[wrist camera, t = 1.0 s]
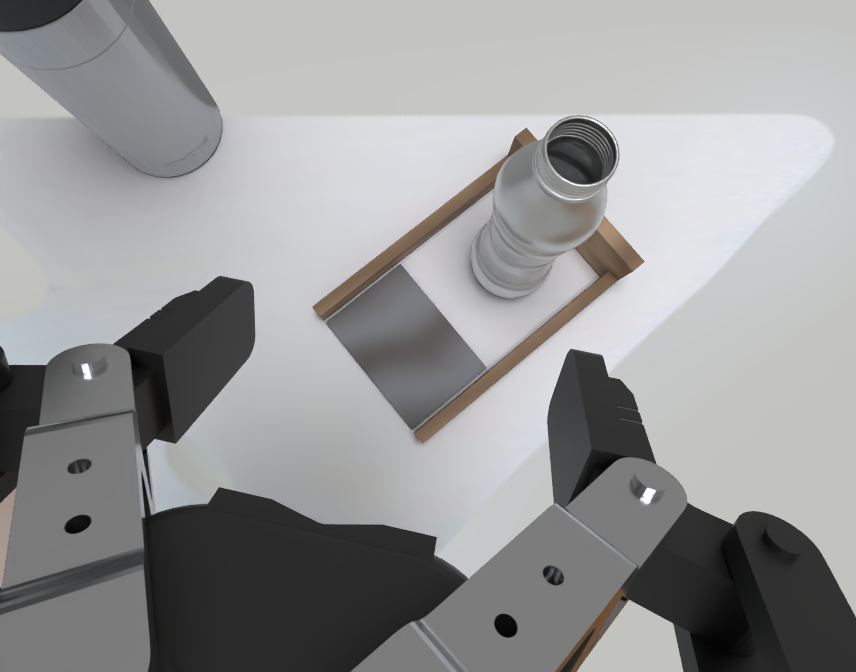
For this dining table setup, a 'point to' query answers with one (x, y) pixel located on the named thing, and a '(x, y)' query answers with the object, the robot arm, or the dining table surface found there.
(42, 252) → the dining table surface
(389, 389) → the wooden tray frame
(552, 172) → the plastic bottle
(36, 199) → the dining table surface
